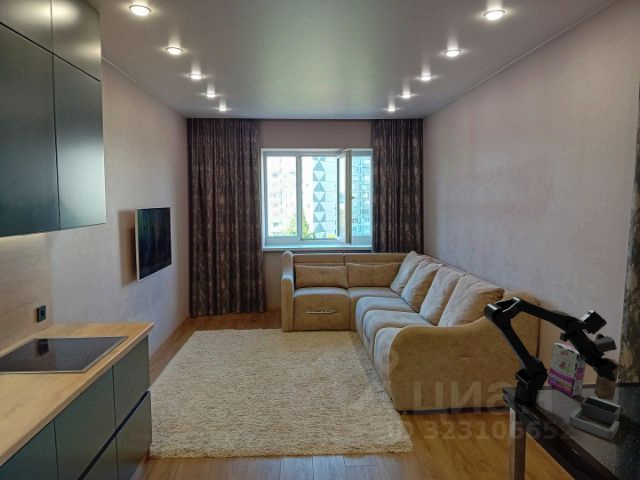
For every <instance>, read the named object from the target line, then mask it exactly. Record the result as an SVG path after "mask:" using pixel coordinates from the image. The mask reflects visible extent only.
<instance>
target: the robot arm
mask: <svg viewBox="0 0 640 480" xmlns="http://www.w3.org/2000/svg"><path fill="white" fill-rule="evenodd" d="M521 312H523V313H525V314H527V315H530V316H533V317H536V318H537V319H541V320H543V321H545V322H548V323H550V324H551V325H553V326H555V327H556V328H558V329H559V330H562V331H563V332H560V335H559V340H560V341H562V342H563V343H567V341H568V342H569V343H570V344H571V346H572V347H574V348H575V349H576V350H577V351H578V352H579V354H580V357H581V359H582V360H583V359H584V362H585V363H586V365H588V366H590V367H591V368H592V370H593V371H594V373H595V374H596V375H597V374H598V375H599V376H600V377H605V378H607V379H609V380H610V381H612V382H614V381H616V379H615V377H614V375H613V372H612V371H613V370H615V369H616V368H617V365H616V364H615V363H614V362H613V361H612V360H611V359H612V358H609V357H603V356H605V355H606V354H605V353H606V352H607V353H608V352H610V351H616V350H617V349H618V347H617V345H616V342H615V339H613V338H612V337H611V336H608V335H603V334H602V333H598V332H599V331H600V330H602V329H603V328H604V327H605V326H606V325H608V322H607V320H606V319H605V318H603V317H602V316H601V315H600V314H599V313H598V312H596V310H593V309H589V310H588V311H587V313H586V314H584V315H583V316H582V317H581V318H577V317H576V316H573V315H571V314H569V313H566V312H565V311H561V310H560V311H559V310H554V309H552V310H551V309H549V308H548V309H547V308H546V307H543V306H541V305H537V304H535V303H533V302H530V301H527V300H525V299H524V298H521V297H519V296H513V297H510V298H509V299H508V298H507V299H504V300H498V301H496V302H494V303H492V302H491V303H488V304H487V305H485V307H484V308H483V312H482V313H483V316H484V317H485V318H486V320H487V321H488V322H490V323H491V325H493V326H494V327H495V328H496V329H497V330H498V331H499V332H500V334H501V336H502V337H503V339H504V340H505V342H506V344H507V345H508V346H509V347H510V349H511V350H512V352H513V353H514V354H515V356H516V358H517V359H518V361H519V367H520V369H519V370H517V371H516V372H515V373H514V377H515V378H514V379H515V380H517V382H516V389H515V395H514V396H515V397H514V398H513V399H512V401H513V402H516V403H519V404H521V405H523V406H526V407H528V408H533V407H534V406H536V405H537V404H539V398H540V391H541V390H542V389H543V387H544V385H545V383H546V382H547V381H548V378H549V372H548V371H549V370H548V368H546V366H545V365H544V363H543V361H542V360H541V359H539V358H538V357H537V356H535V355H534V354H532V355H531V353H530V352H529V351H528V349H527V348H526V346H525V345H524V343H523V341H522V340H521V338H520V337H519V335H518V334H517V333H516V331H515V330H514V328H513V326H512V320H513V319H515V317H516V316H517V315H518V314H520V313H521ZM595 334H596V335H595ZM588 335H595V339H594V340H592V339H591V338H590V337H589V336H588ZM603 358H604V359H603ZM616 382H617V381H616Z"/></svg>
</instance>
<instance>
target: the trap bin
mask: <svg viewBox="0 0 640 480" xmlns="http://www.w3.org/2000/svg"><path fill="white" fill-rule="evenodd" d="M579 408H582V412H581V416H584V417H587V418H589V419H593V420H595V421H598V422H601V423H604V424H606V425H608V426H610V427H611V426H612V425H613V423H614V422H615V421H618V422H619V419H620V415H621V414H620V413H621V406H620V407H617V406H614V405H611V404H608V403H605V402H602V401H599V400H596V399H594V398H591V396H586V397H585V398H584V399H583V400H582V401H581V402H580V407H579Z"/></svg>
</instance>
